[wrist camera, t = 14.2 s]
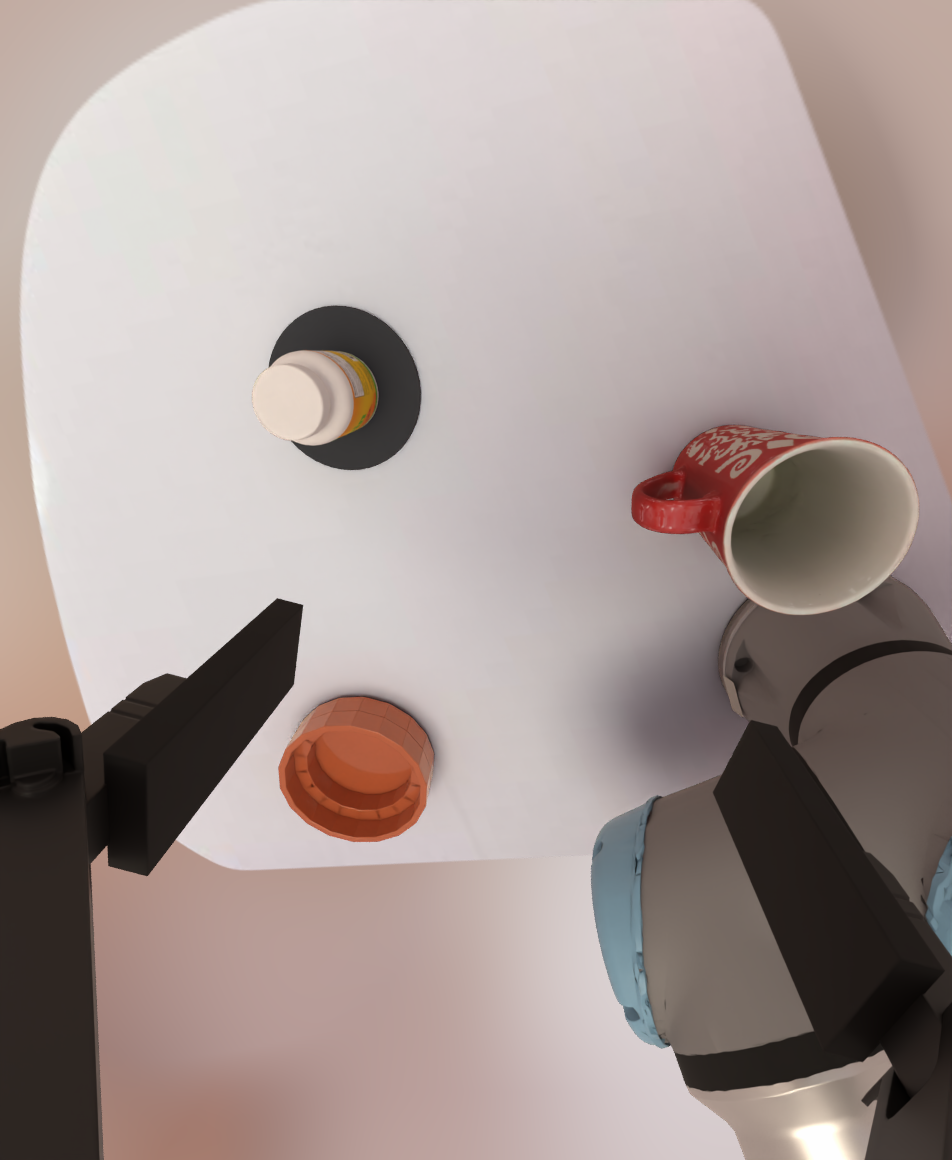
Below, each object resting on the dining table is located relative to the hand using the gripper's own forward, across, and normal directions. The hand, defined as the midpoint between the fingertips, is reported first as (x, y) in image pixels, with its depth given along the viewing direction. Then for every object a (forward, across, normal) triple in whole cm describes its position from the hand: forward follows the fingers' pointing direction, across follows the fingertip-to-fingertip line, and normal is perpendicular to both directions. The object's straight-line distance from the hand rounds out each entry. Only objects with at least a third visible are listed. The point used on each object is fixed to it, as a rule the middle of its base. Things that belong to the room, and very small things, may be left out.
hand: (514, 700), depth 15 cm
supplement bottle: (+26, -14, +4) cm, 30 cm away
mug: (+27, +12, +5) cm, 30 cm away
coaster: (+26, -14, +4) cm, 30 cm away
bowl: (+27, -8, -28) cm, 40 cm away
